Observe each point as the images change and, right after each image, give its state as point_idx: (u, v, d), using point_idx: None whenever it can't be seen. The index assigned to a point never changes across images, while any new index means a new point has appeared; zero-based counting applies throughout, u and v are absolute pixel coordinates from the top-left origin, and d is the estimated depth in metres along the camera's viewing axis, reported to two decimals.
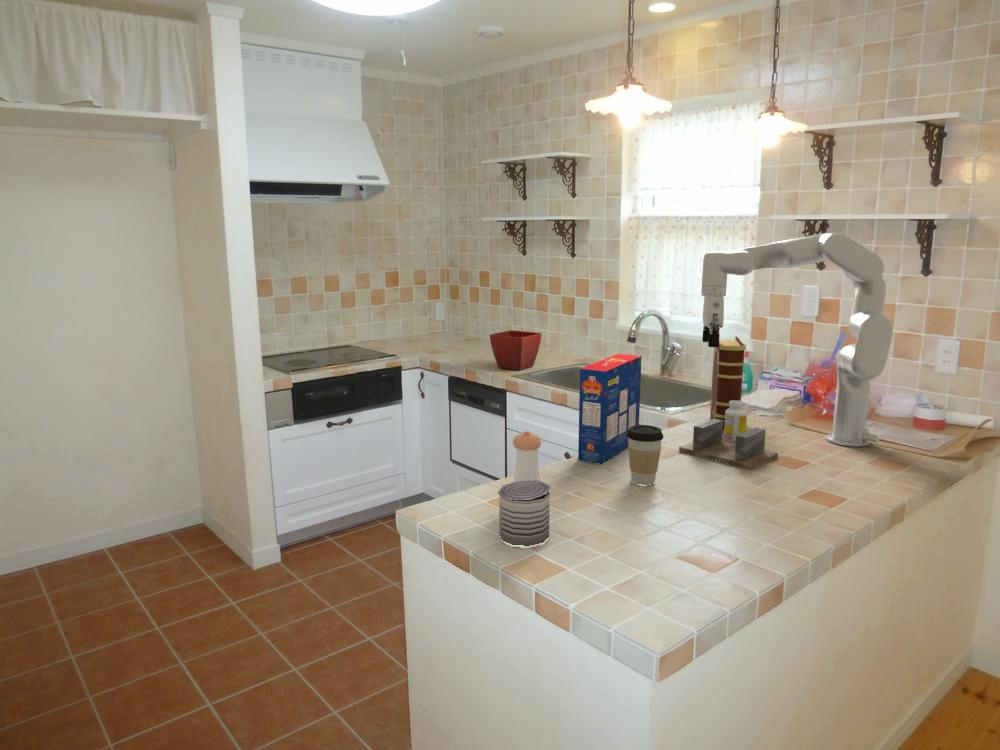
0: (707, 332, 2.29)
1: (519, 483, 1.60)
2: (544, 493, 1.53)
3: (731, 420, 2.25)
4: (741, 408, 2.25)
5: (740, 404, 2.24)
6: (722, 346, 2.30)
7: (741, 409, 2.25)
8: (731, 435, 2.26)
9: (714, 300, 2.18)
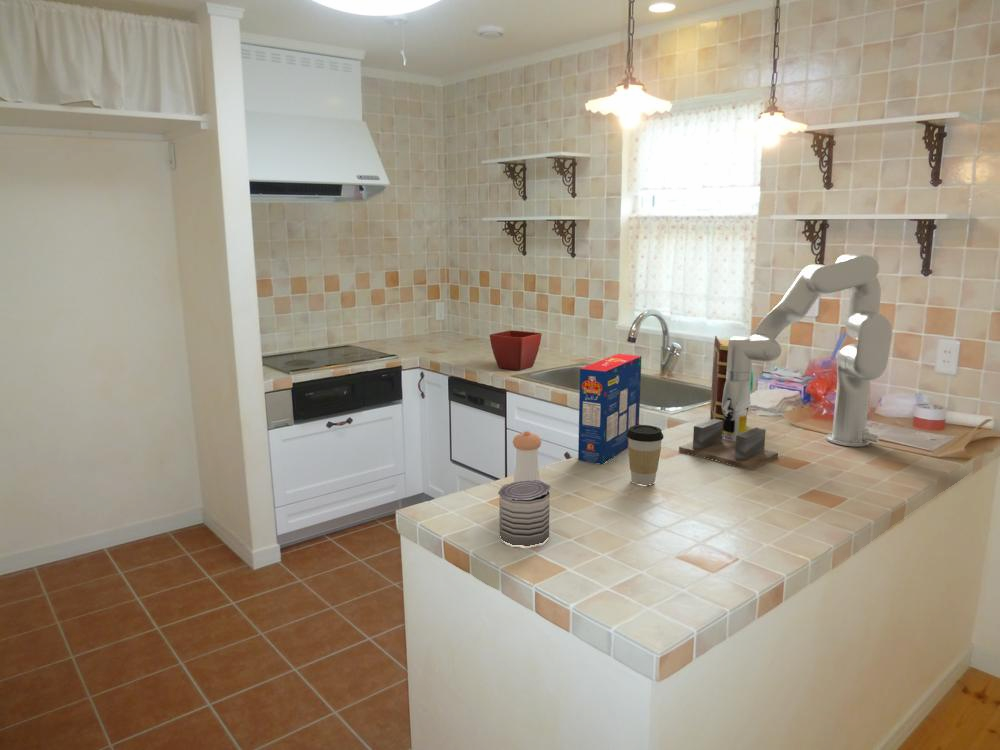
0: None
1: (519, 483, 1.60)
2: (544, 493, 1.53)
3: None
4: None
5: None
6: (722, 346, 2.30)
7: None
8: (731, 435, 2.26)
9: None
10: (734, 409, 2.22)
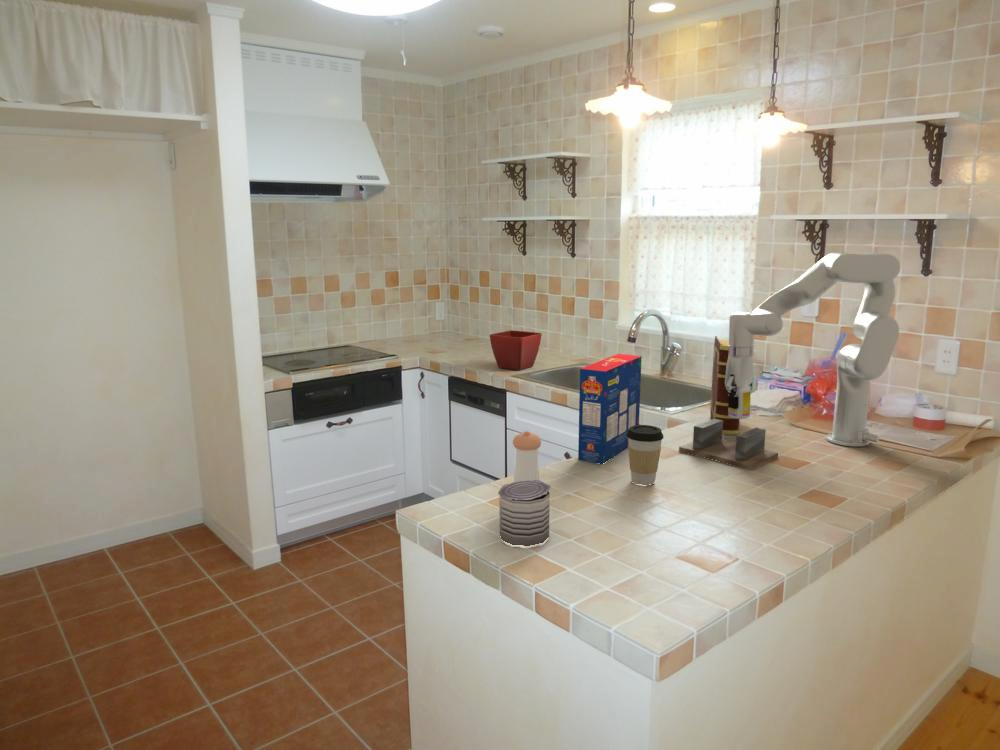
0: None
1: (519, 483, 1.60)
2: (544, 493, 1.53)
3: None
4: None
5: None
6: (722, 346, 2.30)
7: None
8: (735, 411, 2.24)
9: None
10: (737, 385, 2.20)
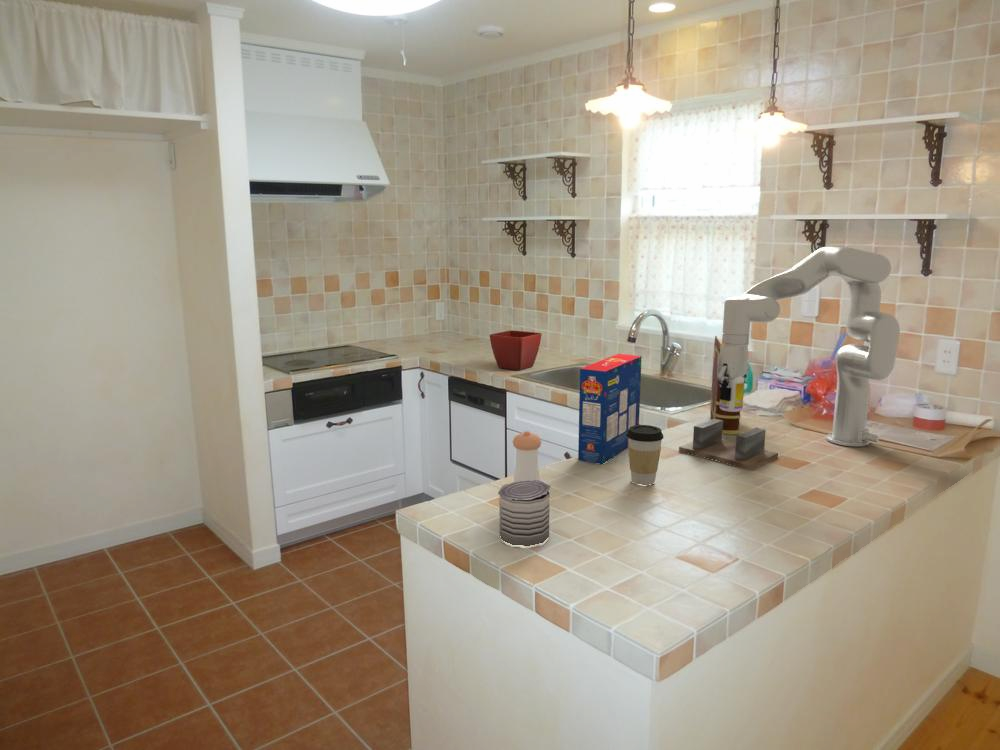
0: None
1: (519, 483, 1.60)
2: (544, 493, 1.53)
3: None
4: None
5: None
6: None
7: None
8: (727, 403, 2.09)
9: None
10: (730, 375, 2.05)
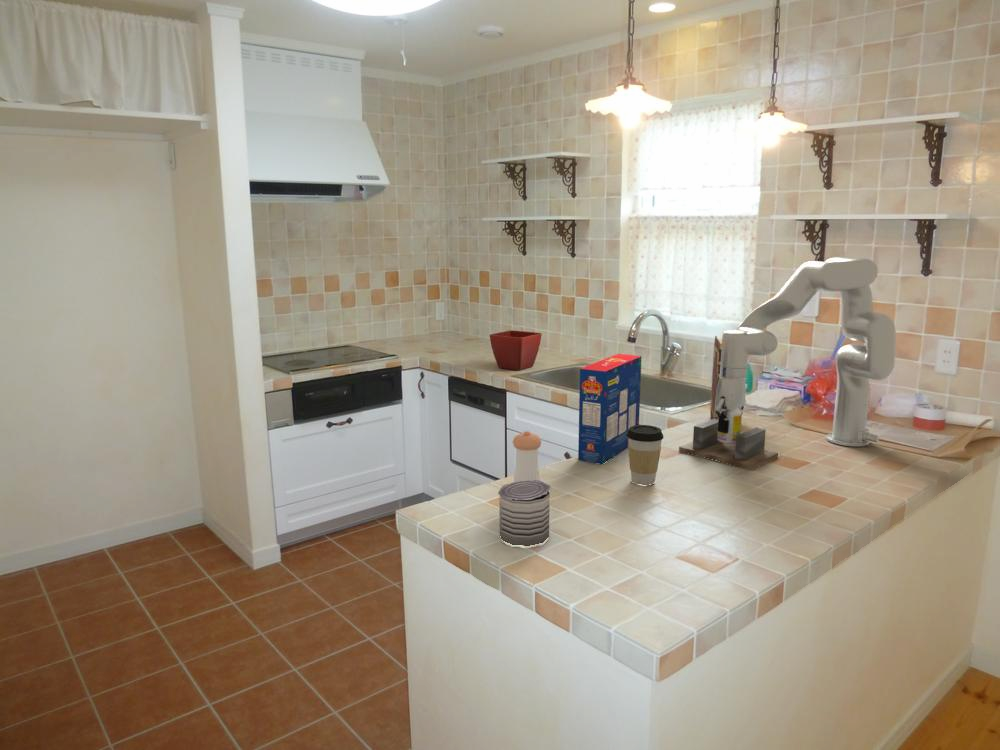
0: None
1: (519, 483, 1.60)
2: (544, 493, 1.53)
3: None
4: None
5: None
6: None
7: None
8: (725, 435, 2.10)
9: None
10: (728, 408, 2.07)
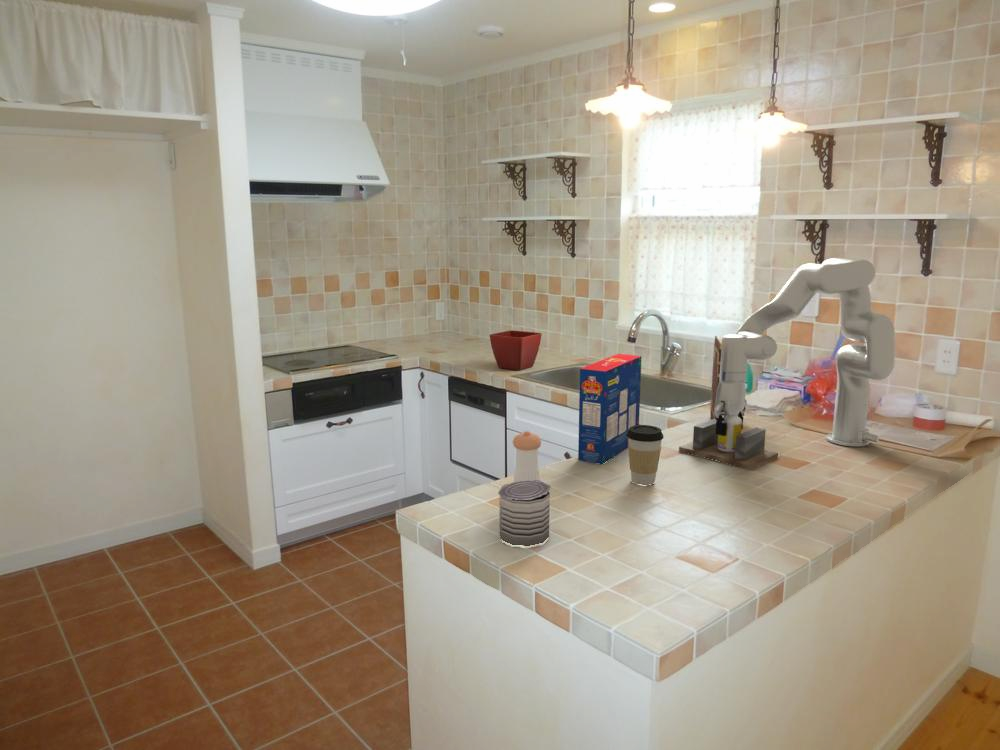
0: None
1: (519, 483, 1.60)
2: (544, 493, 1.53)
3: None
4: (736, 416, 2.10)
5: None
6: None
7: (736, 417, 2.10)
8: (725, 444, 2.11)
9: None
10: (728, 412, 2.07)
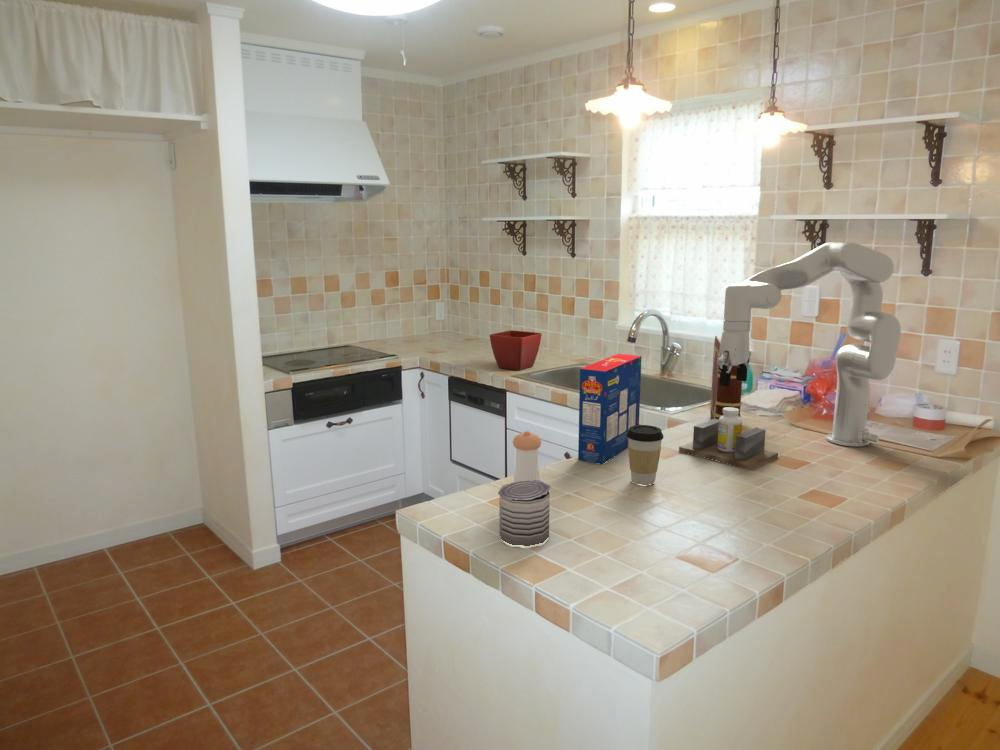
0: None
1: (519, 483, 1.60)
2: (544, 493, 1.53)
3: (725, 428, 2.10)
4: (736, 416, 2.10)
5: (734, 411, 2.09)
6: None
7: (736, 417, 2.10)
8: (725, 444, 2.11)
9: None
10: (732, 362, 2.04)
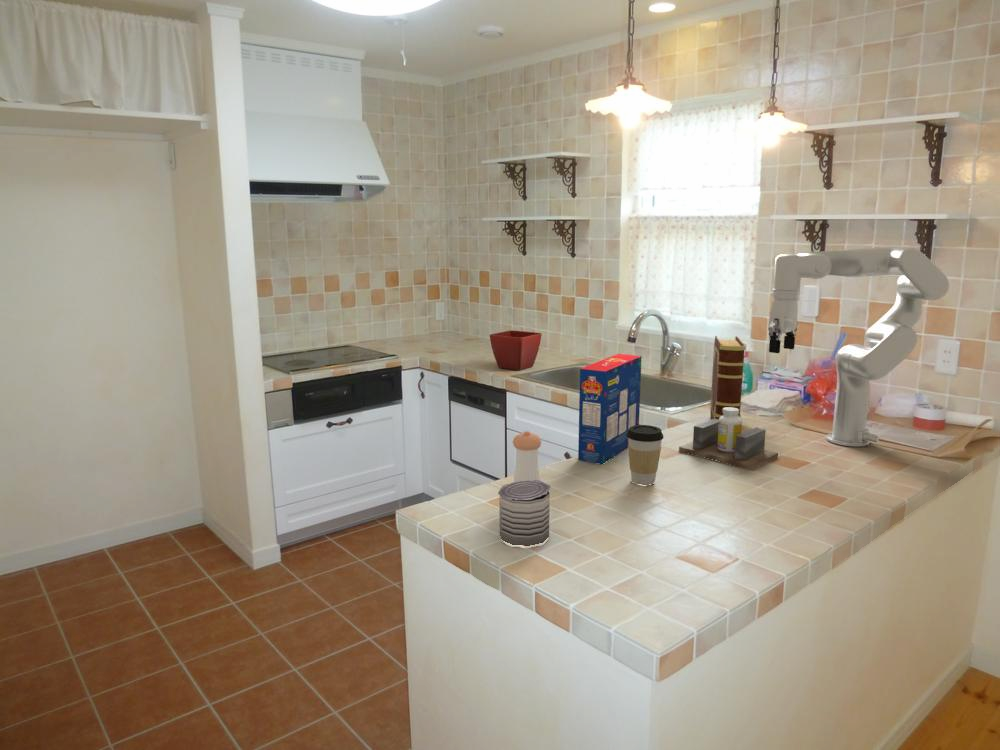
0: None
1: (519, 483, 1.60)
2: (544, 493, 1.53)
3: (725, 428, 2.10)
4: (736, 416, 2.10)
5: (734, 411, 2.09)
6: (722, 346, 2.30)
7: (736, 417, 2.10)
8: (725, 444, 2.11)
9: None
10: (782, 329, 2.12)
